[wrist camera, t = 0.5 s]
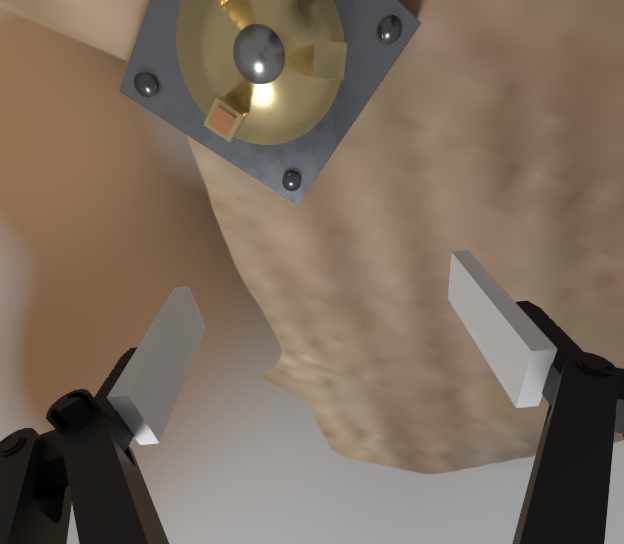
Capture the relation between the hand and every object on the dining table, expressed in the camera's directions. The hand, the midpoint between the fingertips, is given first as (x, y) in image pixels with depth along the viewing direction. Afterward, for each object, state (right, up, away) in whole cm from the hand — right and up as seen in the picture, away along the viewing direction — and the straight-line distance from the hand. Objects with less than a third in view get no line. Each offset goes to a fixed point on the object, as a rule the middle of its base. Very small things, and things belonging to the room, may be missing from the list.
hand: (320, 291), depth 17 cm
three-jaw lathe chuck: (-5, +20, +13) cm, 25 cm away
